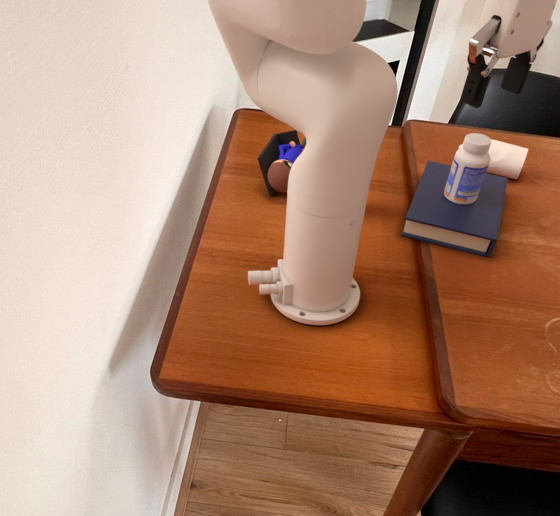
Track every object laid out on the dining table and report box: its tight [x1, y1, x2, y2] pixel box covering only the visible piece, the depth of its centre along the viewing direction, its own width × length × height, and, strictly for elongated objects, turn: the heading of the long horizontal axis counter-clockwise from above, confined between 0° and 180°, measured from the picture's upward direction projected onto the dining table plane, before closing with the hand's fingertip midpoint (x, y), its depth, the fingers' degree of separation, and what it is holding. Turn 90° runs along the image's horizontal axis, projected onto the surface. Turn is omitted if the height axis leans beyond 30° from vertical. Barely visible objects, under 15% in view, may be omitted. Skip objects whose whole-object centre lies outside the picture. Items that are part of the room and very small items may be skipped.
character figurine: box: [257, 129, 306, 197], centre depth 92 cm, size 8×7×15 cm
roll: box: [458, 138, 529, 180], centre depth 98 cm, size 6×12×6 cm, turn 67°
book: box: [400, 160, 509, 258], centre depth 89 cm, size 20×14×3 cm
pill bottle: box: [444, 132, 492, 204], centre depth 84 cm, size 5×5×10 cm
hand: (490, 97), depth 75 cm, fingers open, 9 cm apart
